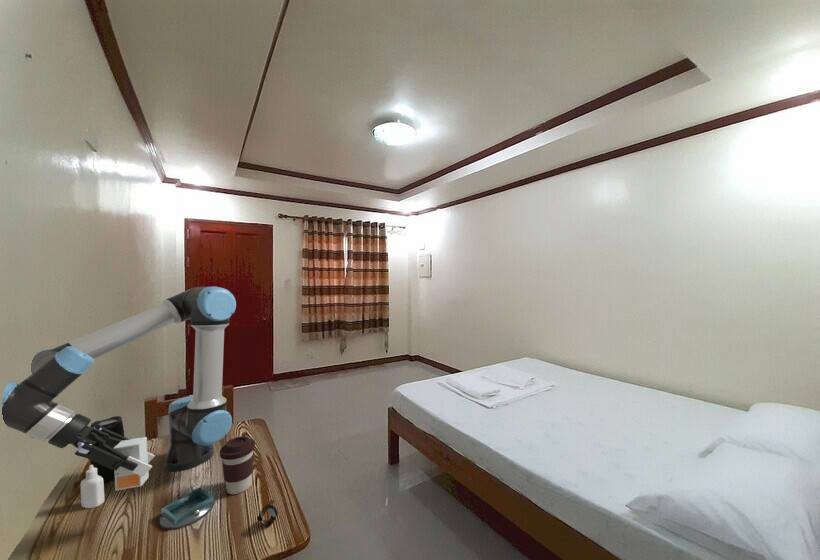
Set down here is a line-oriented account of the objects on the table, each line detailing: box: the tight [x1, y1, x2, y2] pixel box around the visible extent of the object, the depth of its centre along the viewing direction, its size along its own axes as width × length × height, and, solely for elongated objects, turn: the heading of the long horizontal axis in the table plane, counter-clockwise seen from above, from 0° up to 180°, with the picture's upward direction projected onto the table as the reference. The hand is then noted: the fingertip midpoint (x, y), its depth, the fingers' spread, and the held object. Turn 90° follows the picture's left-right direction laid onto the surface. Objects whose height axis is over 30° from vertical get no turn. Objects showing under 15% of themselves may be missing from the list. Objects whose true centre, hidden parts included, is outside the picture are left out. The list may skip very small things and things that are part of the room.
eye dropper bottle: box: [80, 464, 105, 509], centre depth 94 cm, size 4×6×12 cm
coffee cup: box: [219, 435, 256, 495], centre depth 100 cm, size 10×10×15 cm
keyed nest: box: [159, 487, 216, 531], centre depth 91 cm, size 13×13×3 cm
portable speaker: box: [90, 415, 125, 482], centre depth 107 cm, size 9×9×20 cm
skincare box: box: [113, 436, 150, 491], centre depth 87 cm, size 6×4×12 cm
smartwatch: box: [256, 503, 279, 528], centre depth 85 cm, size 4×5×5 cm
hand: (149, 465), depth 89 cm, fingers closed on skincare box, 6 cm apart
